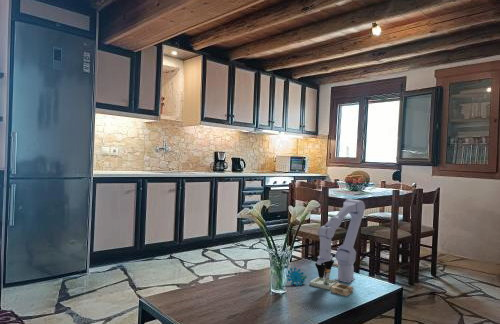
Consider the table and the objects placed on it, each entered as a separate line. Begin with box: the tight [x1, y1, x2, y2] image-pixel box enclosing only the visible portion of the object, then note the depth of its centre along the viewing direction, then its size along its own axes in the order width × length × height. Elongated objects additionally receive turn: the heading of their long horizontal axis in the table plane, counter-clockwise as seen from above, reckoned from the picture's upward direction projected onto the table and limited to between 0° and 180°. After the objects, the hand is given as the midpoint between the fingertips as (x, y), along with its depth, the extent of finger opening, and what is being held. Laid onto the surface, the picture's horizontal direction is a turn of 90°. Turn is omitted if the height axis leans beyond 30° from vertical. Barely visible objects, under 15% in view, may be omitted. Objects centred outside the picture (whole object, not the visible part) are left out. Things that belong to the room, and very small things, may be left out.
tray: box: [309, 276, 339, 291], centre depth 182 cm, size 11×11×2 cm
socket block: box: [330, 282, 354, 297], centre depth 173 cm, size 8×8×2 cm
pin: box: [323, 268, 332, 285], centre depth 181 cm, size 4×4×8 cm
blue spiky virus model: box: [286, 267, 308, 287], centre depth 184 cm, size 11×6×10 cm
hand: (324, 275), depth 182 cm, fingers open, 7 cm apart
